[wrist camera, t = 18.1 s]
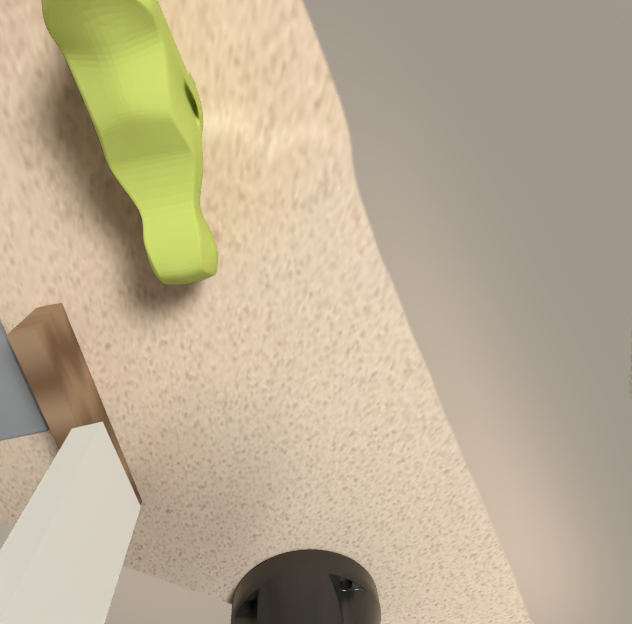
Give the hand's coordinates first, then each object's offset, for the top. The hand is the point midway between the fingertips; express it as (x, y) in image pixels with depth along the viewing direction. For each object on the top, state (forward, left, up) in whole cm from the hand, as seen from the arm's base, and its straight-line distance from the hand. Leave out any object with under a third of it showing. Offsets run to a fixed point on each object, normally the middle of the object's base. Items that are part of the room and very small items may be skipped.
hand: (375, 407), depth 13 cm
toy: (+7, +8, -29) cm, 31 cm away
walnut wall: (-14, +21, -29) cm, 38 cm away
